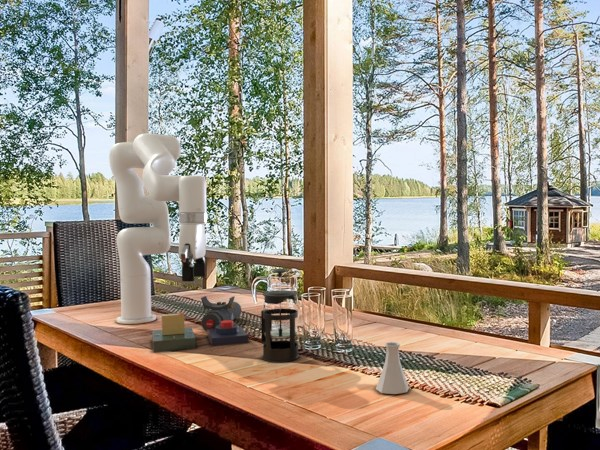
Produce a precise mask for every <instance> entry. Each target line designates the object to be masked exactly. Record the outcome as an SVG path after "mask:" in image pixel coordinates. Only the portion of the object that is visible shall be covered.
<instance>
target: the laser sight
mask: <svg viewBox="0 0 600 450" xmlns="http://www.w3.org/2000/svg"><path fill="white" fill-rule="evenodd" d="M200 300H201V304H202V307H203V310H209V311H208V312H207V313H206V314H205V315H204V316H203V317H202V319H201V327H202V329H203V330H204V331H205V332H207V329H215V327H216V326H217V325H221V321H224V320H232V321H233V322H234V320H235V319H236V318H238V317H239V316H240V315H241V313H242V306H241V304H240V303H239V302H237V301H234V300H235V296H231V297H229V298H228V302H227V301H216V303H212V302H211V301H209V299H208V295H204V296H202V297H200Z"/></svg>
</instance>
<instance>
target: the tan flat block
mask: <svg viewBox="0 0 600 450" xmlns="http://www.w3.org/2000/svg"><path fill="white" fill-rule="evenodd" d="M185 328H186V326H185V313H184V312H179V313H168V314H167V313H166V314H165V313H163V314H161V330H162V335H173V334H184V333H185Z"/></svg>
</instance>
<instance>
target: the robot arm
mask: <svg viewBox="0 0 600 450" xmlns="http://www.w3.org/2000/svg"><path fill="white" fill-rule="evenodd" d="M181 145H182V144H181V142H180V141H179V139H178V138H176V136H174V135H171V134H162V133H150V132H146V133H141V134H138V135H137V136H136V137H135V138H134V140H133V142H131V141H123V142H122V141H121V142H118V143H115V144H113V145H112V146H111V147H110V150H109V155H108V159H109V160H108V161H109V168H110V170H111V174H112V176H113V178H114V182H115V186H116V197H117V208H118V215H119V218H120V221H121V222H122V223H124V224H129V225H130V224H151V226H138V227H137V226H135V227H134V226H133V227H127V228H123V229H121V230H120V231H119V232H118V233H117V235H116V238H115V241H116V248H117V252H118V258H119V277H120V278H119V280H120V316H118V317H116V318H115V321H116V323H118V324H122V325H136V324H147V323H150V322H153V321H155V320H157V315H156V314H155V313H152V281H151V280H152V278H151V276H152V275H151V267H150V264H149V262H148V261H147V260H146V259H145V257H144V256H152V255H161V254H163V255H164V254H166V253H168V252H169V251H170V249H171V246H172V235H171V233H172V232H171V224H170V223H171V222H170V215H169V214H170V213H169V207H168V203H167V202H178V212H179V213H178V217H179V218H178V219H179V220H178V223H179V226H180V227H179V233H178V235H179V236H178V237H179V238H178V258H179V260H180V262H181V264H180V265H181V266H180V267H181V281H182V282H194V281H195V278H204V277H205V276H206V258H205V257H206V253H207V252H206V251H207V242H206V228H205V227H206V226H205V225H208V216H207V215H208V214H207V213H208V211H207V209H208V208H207V180H206V178H205V177H204V176H203V175H171V174H170V173H171V172H173V170H174V168H175V167H176V161H178V159H179V158H180V157H181V154H182V146H181ZM134 169H143V170H142V173H141V175H142V176H140V175H139V174H138V173H137V172H136V171H135V170H134ZM144 189H145V190H146V192H147V194H148V195H147V194H145V190H144Z"/></svg>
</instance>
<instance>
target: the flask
mask: <svg viewBox="0 0 600 450" xmlns="http://www.w3.org/2000/svg"><path fill="white" fill-rule="evenodd" d="M384 346H385V347H386V351H385V353H386V354H385V360H384V363H383V367H382V370H381V372H380V376H379V379H378V381H377V384H376V387H375V390H376V391H378V392H379V393H381V394H386V395H387V394H389V395H399V394H404V393H408V391H409V389H410V386H409V384H408V381H407V378H406V375H405V372H404V369H403V366H402V364H401V359H400V351H399V349H400V346H401V343H399V342H396V341H393V342H392V341H390V342H386V343H385V344H384Z"/></svg>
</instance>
